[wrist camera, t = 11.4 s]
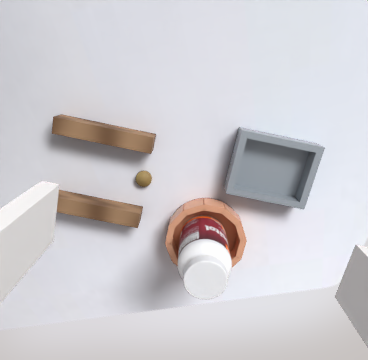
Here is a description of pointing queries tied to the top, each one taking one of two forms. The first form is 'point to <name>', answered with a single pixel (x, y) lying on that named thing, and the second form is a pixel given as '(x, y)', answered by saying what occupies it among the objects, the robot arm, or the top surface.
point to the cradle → (108, 136)
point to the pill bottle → (204, 257)
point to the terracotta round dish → (214, 210)
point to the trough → (272, 168)
